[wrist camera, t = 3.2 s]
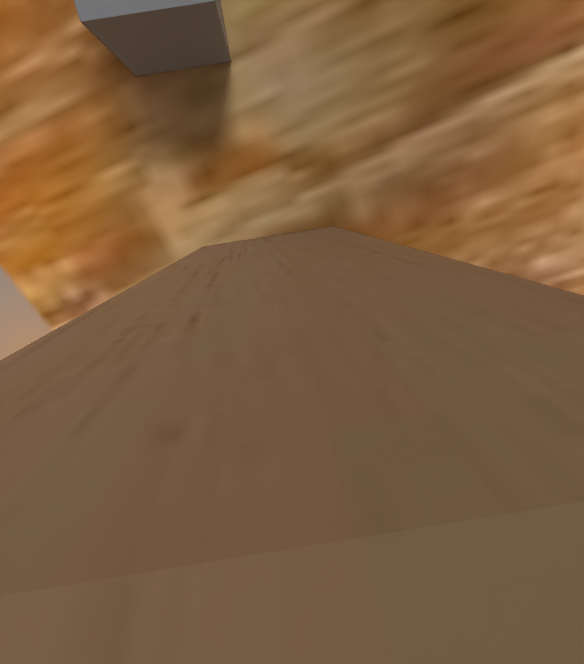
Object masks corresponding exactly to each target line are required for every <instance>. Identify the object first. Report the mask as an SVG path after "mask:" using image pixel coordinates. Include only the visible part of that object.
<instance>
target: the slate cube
mask: <svg viewBox="0 0 584 664" xmlns="http://www.w3.org/2000/svg"><path fill="white" fill-rule="evenodd" d="M74 2H75V5H76V8H77V11H78V15H79V18H80V21H81V22H82V23H83V24H84V25H85V26H86V27H87V28H88V29H89V30H90V31H91V32H92V33H93V34H94V35H95V36H96V37H97V38H98V39H99V40H100V41H101V42H102V43H103V44H104V45H105V46H106V47H107V48H108V49H109V50H110V51H111V52H112V53H113V54H114V55H115V56H116V57H117V58H118V59H119V60H120V61H121V62H122V63H123V64H124V65H125V66H126V67H127V68H128V69H129V70H130V71H131V72H132V73H133V74H134V75H135V76H142V75H149V74H155V73H161V72H168V71H174V70H180V69H187V68H193V67H199V66H206V65H212V64H218V63H225V62H231V59H230V53H229V47H228V42H227V36H226V30H225V25H224V19H223V14H222V8H221V2H220V0H74Z"/></svg>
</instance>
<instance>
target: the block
mask: <svg viewBox="0 0 584 664" xmlns="http://www.w3.org/2000/svg"><path fill="white" fill-rule="evenodd" d="M0 664H584V296H583V295H580V294H576V293H573V292H569V291H565V290H562V289H558V288H555V287H551V286H547V285H544V284H540V283H537V282H533V281H529V280H526V279H522V278H519V277H515V276H511V275H508V274H504V273H501V272H497V271H493V270H490V269H486V268H483V267H479V266H475V265H472V264H468V263H465V262H461V261H457V260H454V259H450V258H447V257H443V256H439V255H436V254H432V253H429V252H425V251H421V250H418V249H414V248H411V247H407V246H403V245H400V244H396V243H393V242H389V241H385V240H382V239H378V238H375V237H371V236H367V235H364V234H360V233H357V232H353V231H349V230H346V229H342V228H339V227H335V226H333V227H327V228H320V229H314V230H307V231H301V232H295V233H288V234H282V235H275V236H269V237H263V238H256V239H250V240H244V241H237V242H231V243H224V244H218V245H212V246H205V247H202V248H200V249H198V250H196V251H195V252H193V253H191V254H189V255H188V256H186V257H184V258H182V259H180V260H179V261H177V262H175V263H173V264H172V265H170V266H168V267H166V268H164V269H163V270H161V271H159V272H157V273H155V274H154V275H152V276H150V277H148V278H147V279H145V280H143V281H141V282H139V283H138V284H136V285H134V286H132V287H131V288H129V289H127V290H125V291H123V292H122V293H120V294H118V295H116V296H115V297H113V298H111V299H109V300H107V301H106V302H104V303H102V304H100V305H99V306H97V307H95V308H93V309H91V310H90V311H88V312H86V313H84V314H82V315H81V316H79V317H77V318H75V319H74V320H72V321H70V322H68V323H66V324H65V325H63V326H61V327H59V328H58V329H56V330H54V331H52V332H50V333H49V334H47V335H46V336H43V337H42V338H40V339H38V340H36V341H34V342H33V343H31V344H29V345H27V346H26V347H24V348H22V349H20V350H18V351H17V352H15V353H13V354H11V355H10V356H8V357H6V358H4V359H2V360H1V361H0Z"/></svg>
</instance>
